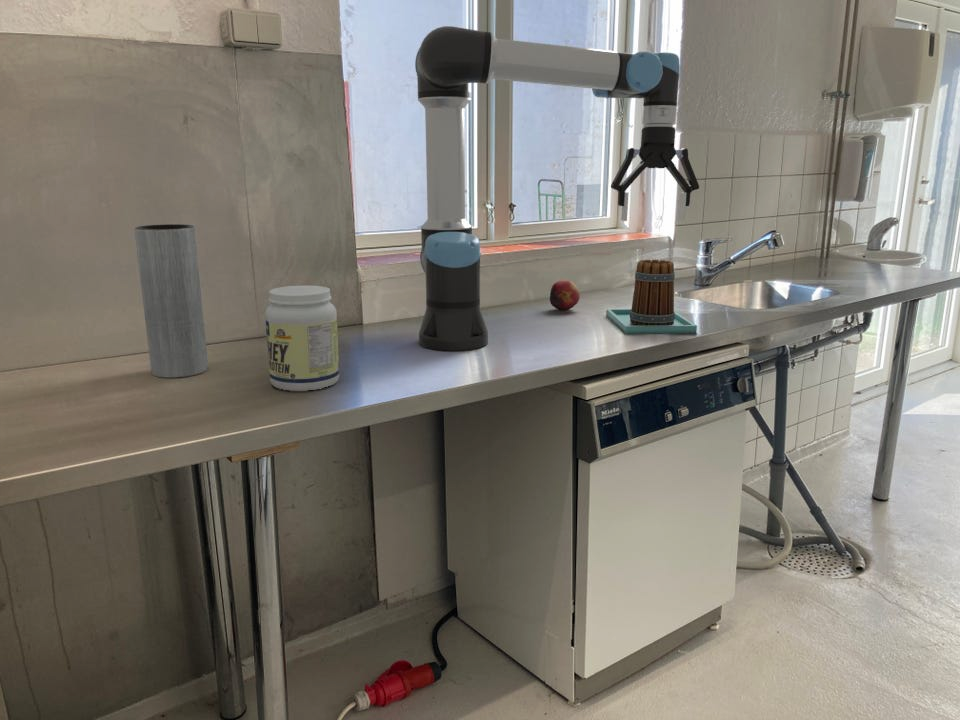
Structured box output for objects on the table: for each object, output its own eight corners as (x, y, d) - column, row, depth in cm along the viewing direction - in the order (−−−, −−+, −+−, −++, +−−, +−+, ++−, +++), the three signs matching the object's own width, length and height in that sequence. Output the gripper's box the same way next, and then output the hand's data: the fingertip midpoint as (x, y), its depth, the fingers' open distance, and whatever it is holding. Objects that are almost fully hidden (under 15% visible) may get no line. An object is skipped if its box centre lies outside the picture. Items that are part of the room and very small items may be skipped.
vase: (148, 380, 134) (129, 229, 127) (155, 366, 143) (138, 224, 136) (206, 376, 136) (192, 228, 129) (209, 362, 146) (196, 223, 138)
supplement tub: (257, 383, 132) (249, 289, 128) (316, 370, 140) (311, 281, 136) (293, 398, 124) (286, 298, 119) (353, 383, 132) (349, 289, 128)
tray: (625, 334, 170) (625, 326, 169) (606, 315, 190) (606, 309, 189) (696, 333, 171) (696, 325, 170) (669, 315, 191) (670, 308, 190)
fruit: (583, 312, 195) (584, 282, 192) (557, 314, 192) (558, 283, 190) (569, 307, 202) (570, 277, 199) (544, 309, 199) (545, 279, 197)
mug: (675, 329, 172) (679, 265, 168) (629, 327, 174) (632, 264, 170) (672, 316, 186) (676, 256, 182) (629, 314, 188) (633, 255, 184)
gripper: (608, 124, 164) (603, 221, 170) (718, 126, 165) (710, 222, 171) (601, 126, 171) (596, 219, 177) (706, 127, 173) (699, 219, 178)
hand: (652, 220), depth 174 cm, fingers open, 13 cm apart
